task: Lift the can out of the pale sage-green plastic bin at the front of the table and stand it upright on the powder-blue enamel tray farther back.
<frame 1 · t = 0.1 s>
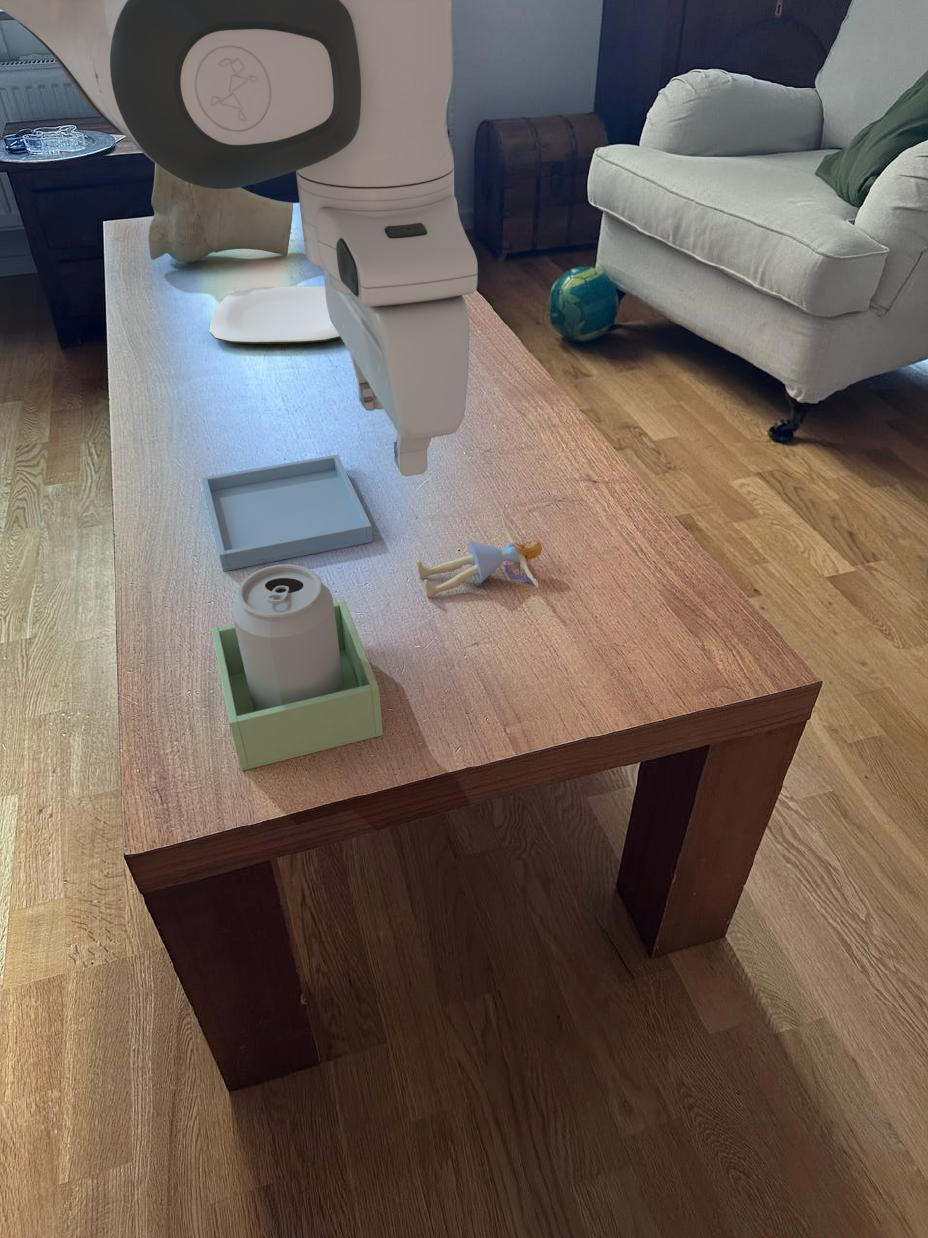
hand: (391, 436, 60), 23 cm above the table, tool pointing down, fingers open, 8 cm apart
plate: (287, 323, 135), on the table
tray: (285, 516, 94), on the table
vase: (232, 261, 156), on the table
bin: (299, 704, 73), on the table
can: (299, 703, 73), resting on bin
fairy figurine: (481, 579, 86), on the table
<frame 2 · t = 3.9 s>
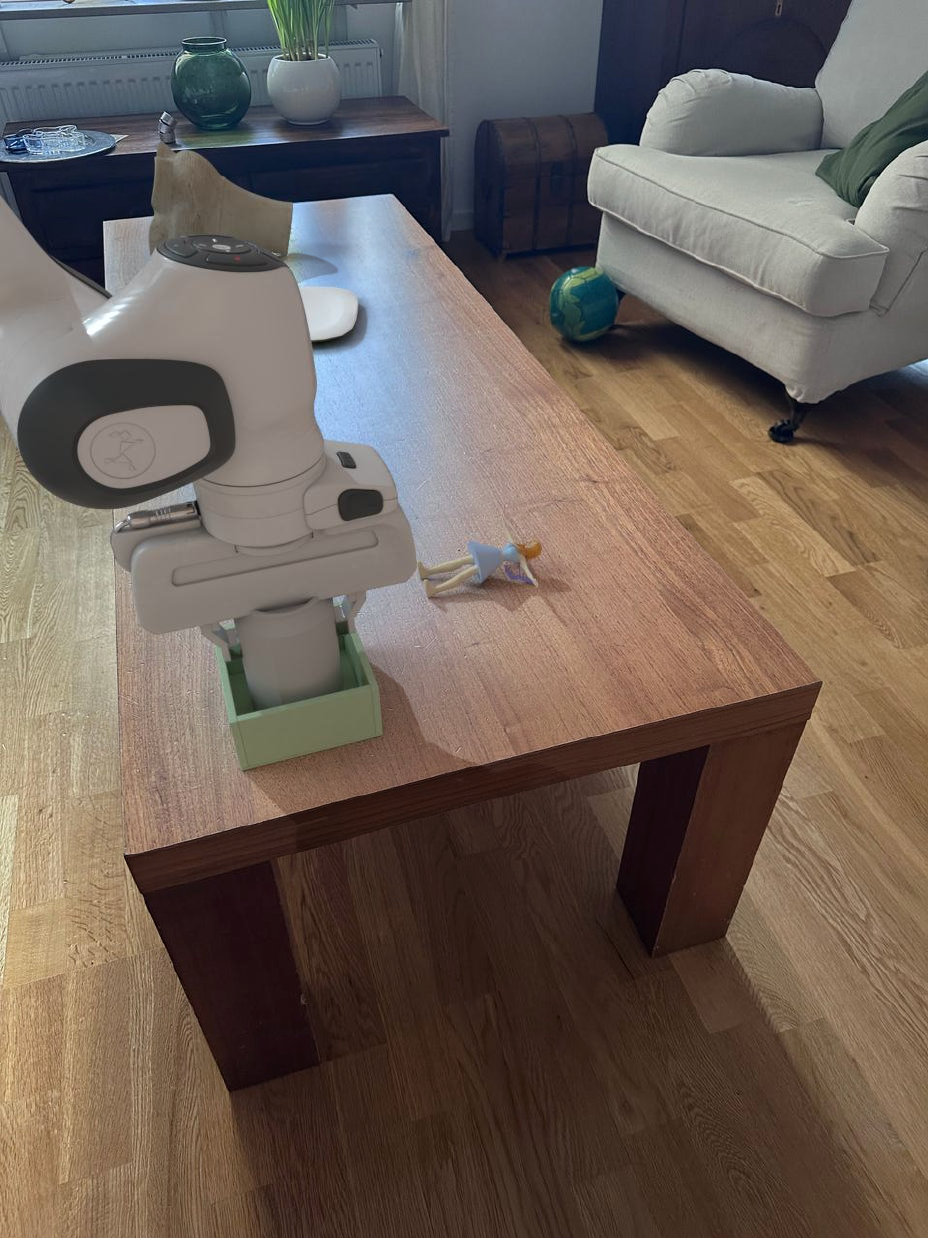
hand: (290, 642, 68), 7 cm above the table, tool pointing down, fingers closed on can, 7 cm apart
can: (299, 703, 73), resting on bin, touching gripper
everything else where it was.
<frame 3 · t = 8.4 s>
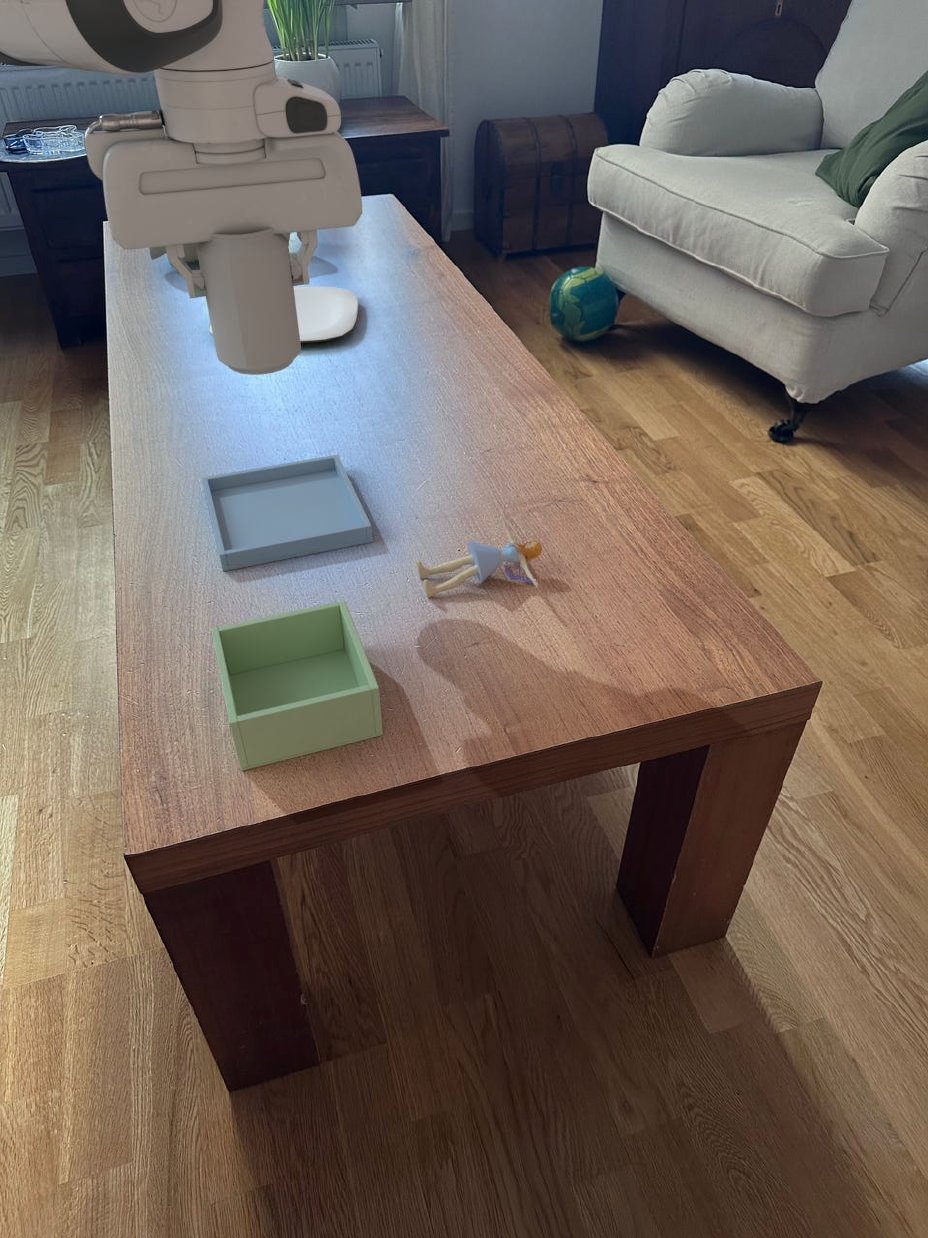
hand: (250, 289, 76), 25 cm above the table, tool pointing down, fingers closed on can, 7 cm apart
can: (261, 362, 80), point 18 cm above the table, touching gripper
everything else where it was.
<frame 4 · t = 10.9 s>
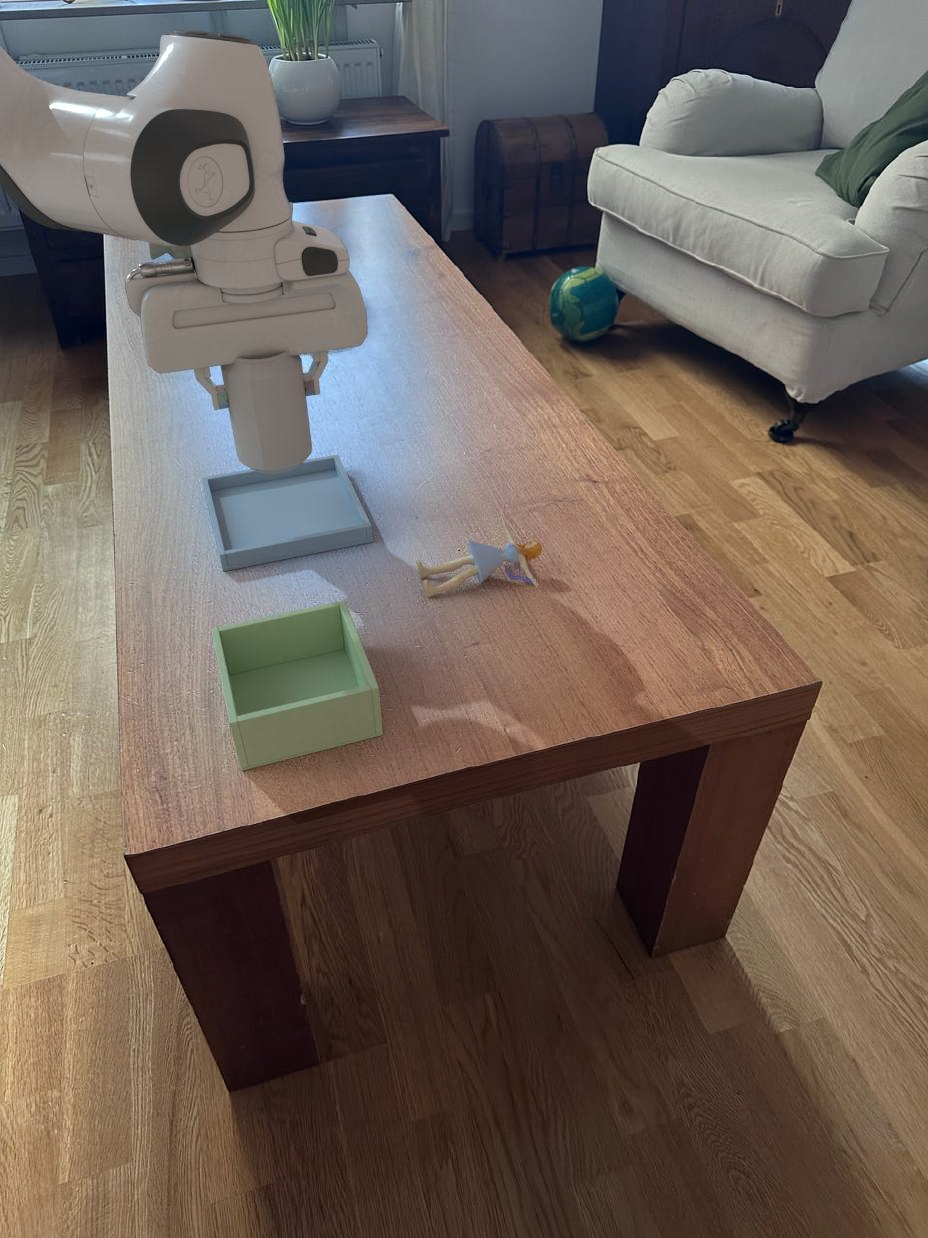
hand: (267, 399, 85), 14 cm above the table, tool pointing down, fingers closed on can, 7 cm apart
can: (276, 460, 89), point 7 cm above the table, touching gripper
everything else where it was.
when the fingers open (7 cm above the table, at t = 13.0 s): can stays where it is, resting on tray.
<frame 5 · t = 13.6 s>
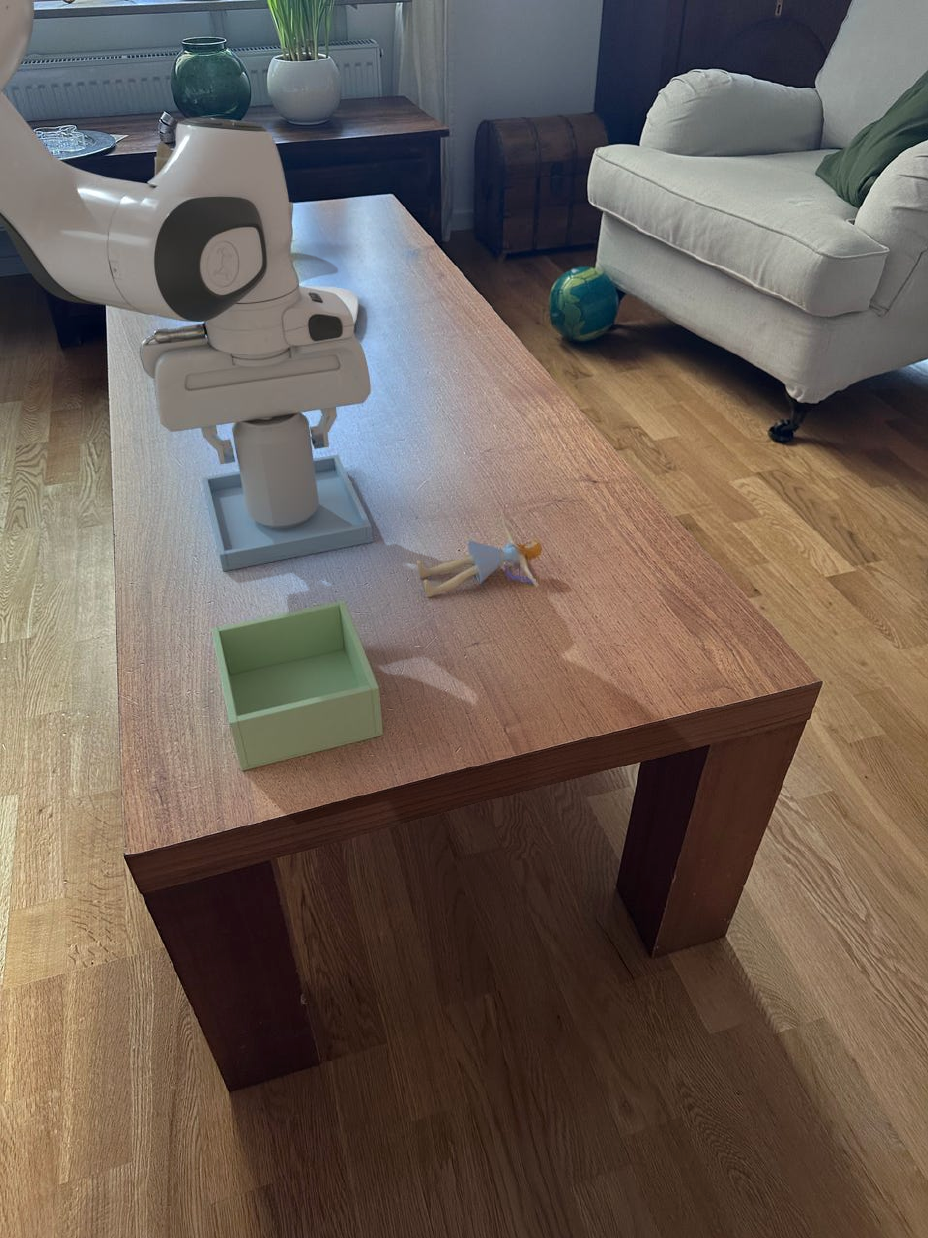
hand: (274, 453, 89), 8 cm above the table, tool pointing down, fingers open, 8 cm apart
can: (284, 514, 94), resting on tray
everything else where it was.
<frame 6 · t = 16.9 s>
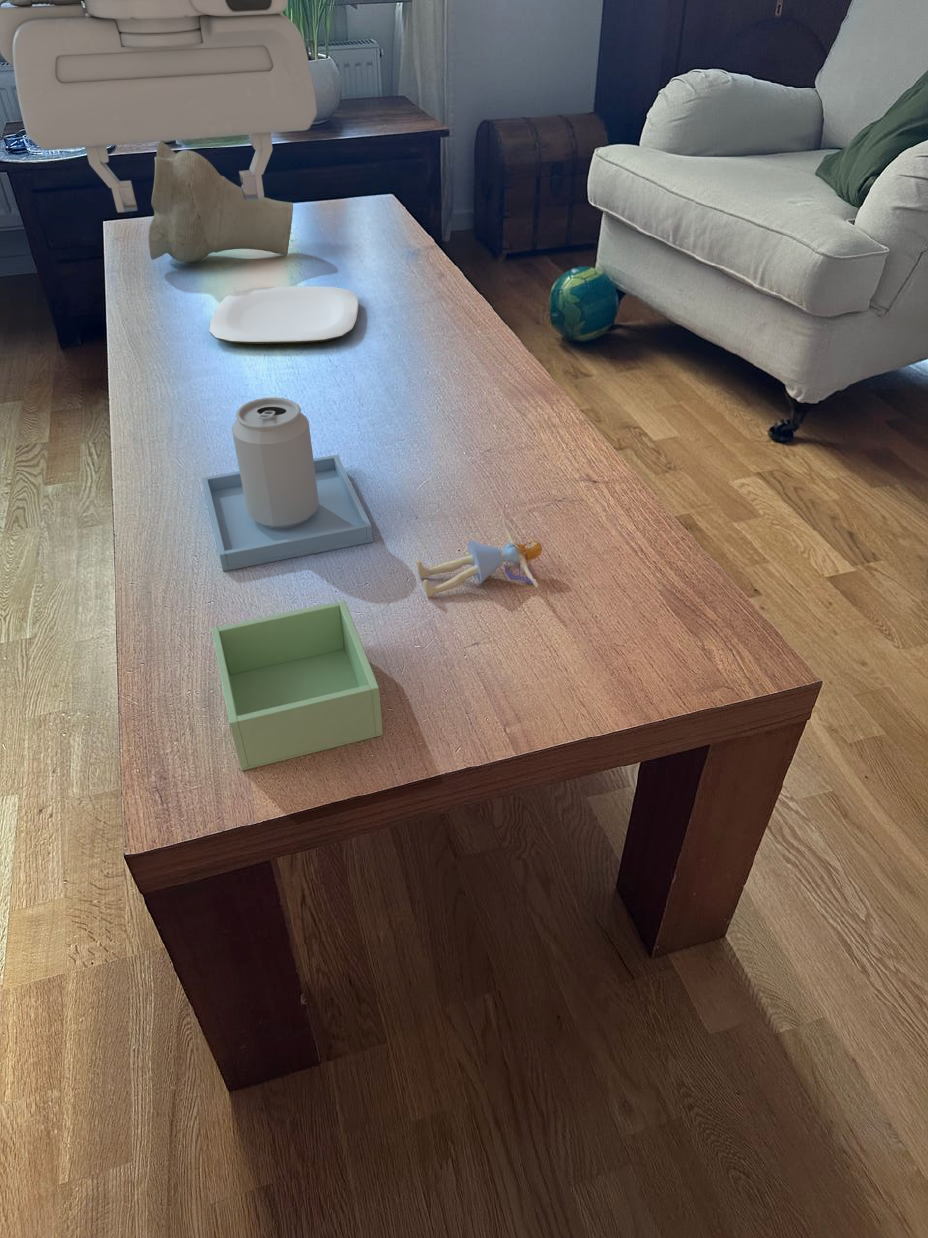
hand: (191, 203, 67), 33 cm above the table, tool pointing down, fingers open, 8 cm apart
nothing on the table moved.
at the end: can inside the target area in the tray (0.1 cm from its centre), point 0.3 cm above the tray's base; can tilted 0° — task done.
